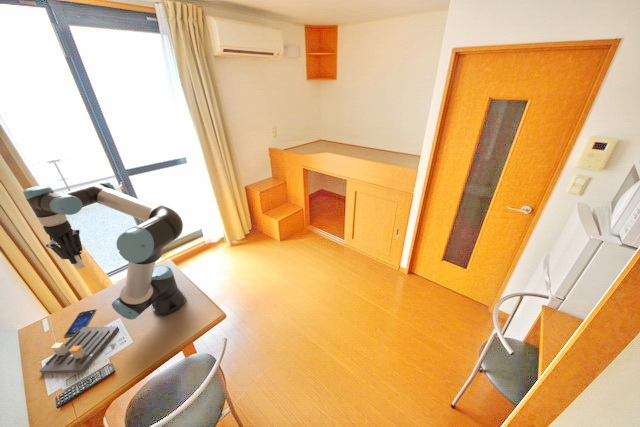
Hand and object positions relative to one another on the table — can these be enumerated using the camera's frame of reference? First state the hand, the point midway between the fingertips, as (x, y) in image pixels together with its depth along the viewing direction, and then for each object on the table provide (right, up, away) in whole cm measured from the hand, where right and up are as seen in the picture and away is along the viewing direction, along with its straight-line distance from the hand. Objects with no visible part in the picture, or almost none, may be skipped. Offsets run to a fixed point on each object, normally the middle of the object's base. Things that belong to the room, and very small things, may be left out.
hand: (80, 267), depth 109 cm
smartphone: (-7, -29, +8) cm, 31 cm away
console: (+6, -35, -4) cm, 36 cm away
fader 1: (+1, -35, -8) cm, 36 cm away
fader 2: (+10, -35, -9) cm, 38 cm away
